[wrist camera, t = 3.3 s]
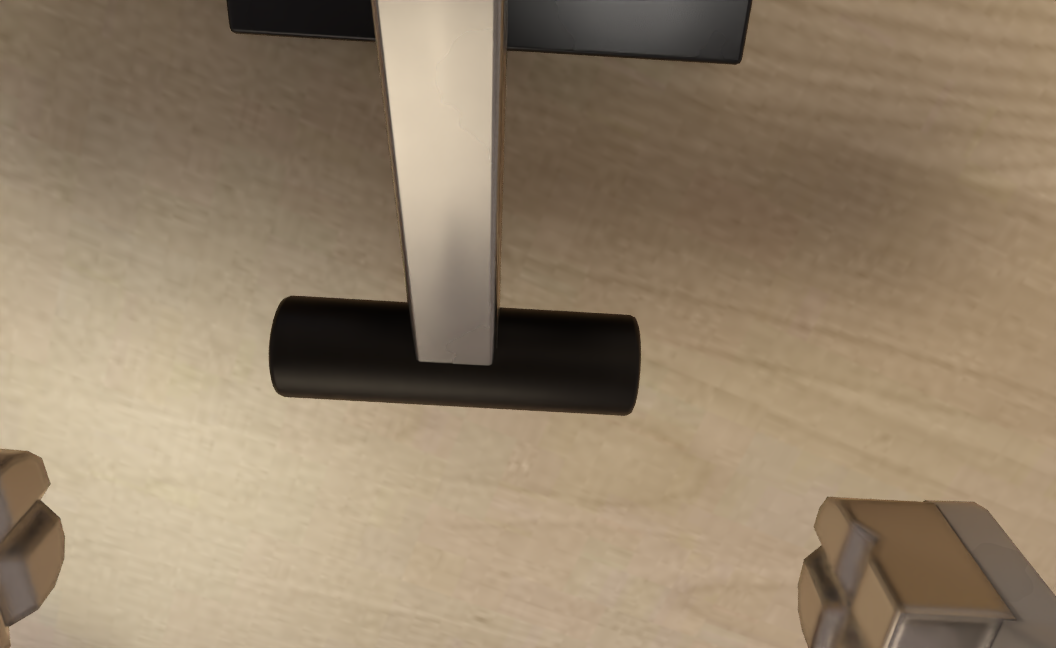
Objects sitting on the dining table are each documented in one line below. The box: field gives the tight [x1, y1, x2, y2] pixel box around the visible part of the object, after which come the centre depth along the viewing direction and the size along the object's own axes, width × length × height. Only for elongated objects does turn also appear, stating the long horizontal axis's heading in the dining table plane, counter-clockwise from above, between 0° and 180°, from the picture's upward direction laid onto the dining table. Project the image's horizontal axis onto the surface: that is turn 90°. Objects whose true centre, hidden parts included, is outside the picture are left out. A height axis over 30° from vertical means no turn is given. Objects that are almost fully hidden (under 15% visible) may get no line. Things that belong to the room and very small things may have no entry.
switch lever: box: [269, 0, 641, 416], centre depth 7 cm, size 12×5×2 cm, turn 177°
